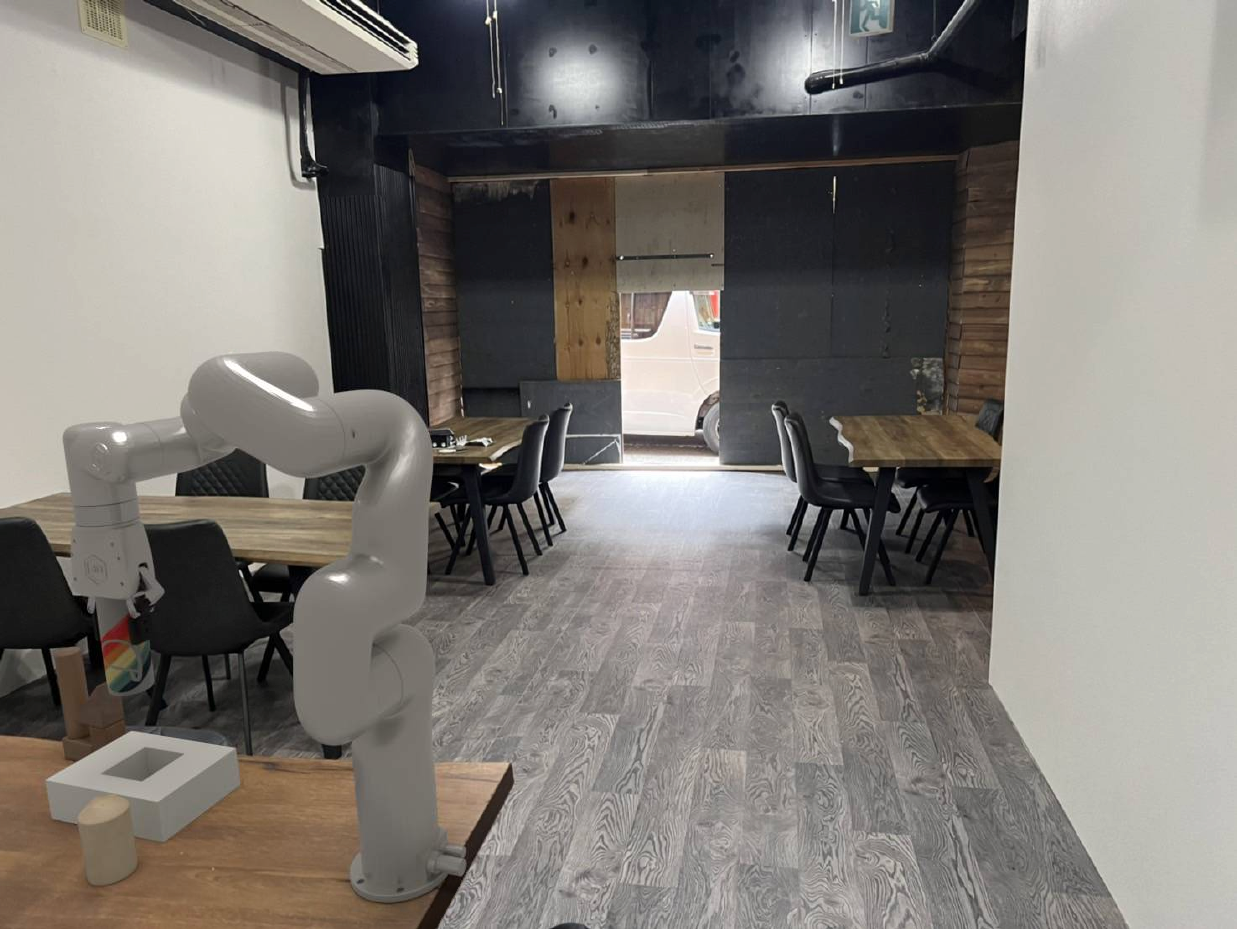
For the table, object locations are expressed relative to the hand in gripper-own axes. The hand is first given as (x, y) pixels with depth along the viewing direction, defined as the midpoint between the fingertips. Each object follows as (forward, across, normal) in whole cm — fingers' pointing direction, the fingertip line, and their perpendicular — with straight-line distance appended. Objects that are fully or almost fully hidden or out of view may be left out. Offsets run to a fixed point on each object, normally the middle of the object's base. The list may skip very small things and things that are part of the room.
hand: (124, 638), depth 113 cm
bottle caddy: (+25, 0, 0) cm, 25 cm away
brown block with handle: (+26, -18, +7) cm, 32 cm away
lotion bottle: (+8, 0, 0) cm, 8 cm away
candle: (+25, +9, -13) cm, 30 cm away
